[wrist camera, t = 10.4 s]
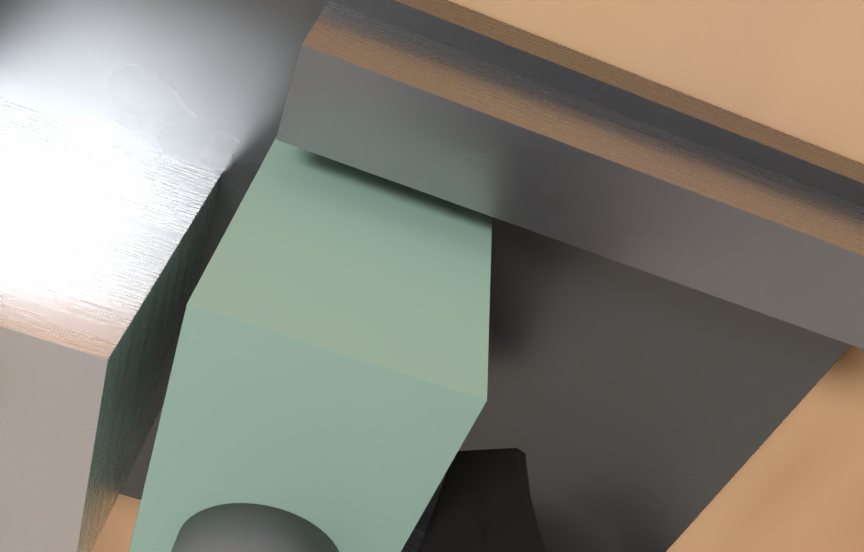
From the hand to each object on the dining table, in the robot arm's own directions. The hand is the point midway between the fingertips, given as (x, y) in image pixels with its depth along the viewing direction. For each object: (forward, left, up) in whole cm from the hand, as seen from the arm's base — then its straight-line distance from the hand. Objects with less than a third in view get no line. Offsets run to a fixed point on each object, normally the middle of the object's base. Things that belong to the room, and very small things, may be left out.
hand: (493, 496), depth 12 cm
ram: (+3, 0, -2) cm, 4 cm away
